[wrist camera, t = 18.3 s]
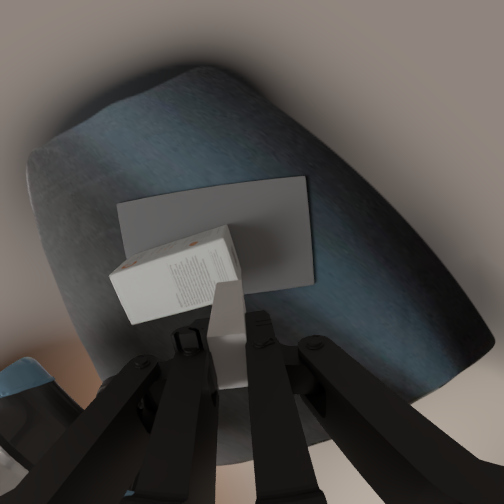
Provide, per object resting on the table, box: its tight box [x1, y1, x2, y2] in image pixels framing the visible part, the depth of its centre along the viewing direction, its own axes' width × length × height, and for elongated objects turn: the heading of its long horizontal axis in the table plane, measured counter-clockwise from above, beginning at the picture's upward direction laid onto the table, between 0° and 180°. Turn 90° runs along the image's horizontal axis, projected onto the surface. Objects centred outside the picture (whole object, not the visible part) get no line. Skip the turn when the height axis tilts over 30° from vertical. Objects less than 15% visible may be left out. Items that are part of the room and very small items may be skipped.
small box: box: [109, 225, 242, 325], centre depth 31 cm, size 8×6×13 cm
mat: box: [117, 176, 314, 294], centre depth 35 cm, size 24×14×1 cm, turn 97°
